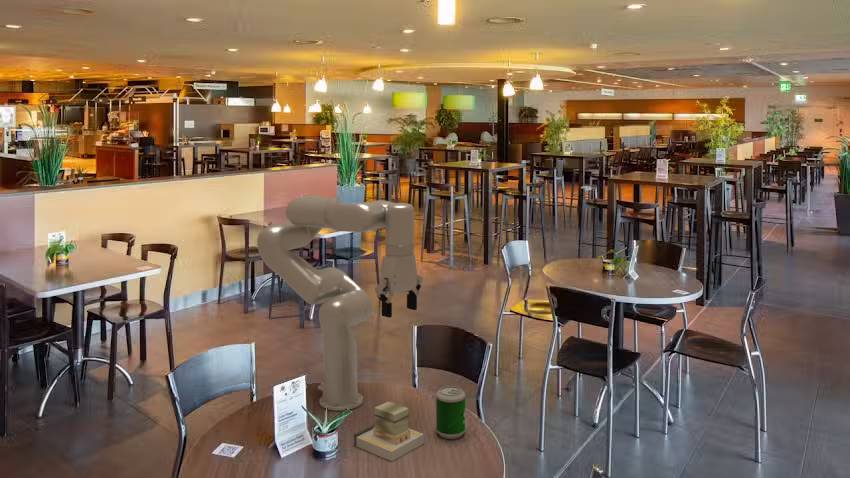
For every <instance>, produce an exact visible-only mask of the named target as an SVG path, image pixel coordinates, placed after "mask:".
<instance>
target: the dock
mask: <svg viewBox="0 0 850 478" xmlns="http://www.w3.org/2000/svg"><path fill="white" fill-rule="evenodd" d="M374 427H375V423H373V424H371V425H369V426H367V427H365V428H362V429H361V430H358V431H357V432H354V433H353V443H354V444H353V445H354V447H357V448H359V449H362V450H364V451H366V452H369V453H370V454H372V455H375V456H378V457H380V458H383V459H385V460H387V461H390V462H394V461H395V460H397V459H399V458H400V457H403V456H404V455H406V454H408V453H409V452H411V451H413V450H415V449H416V448H418V447H420V446H421V445H422V446H423V444H425V434H424V433H421V432H419V431H417V430H414V429H411V428H409V430H410V438H408V439H406V438H405V441H403V442H401V441H400V443H399V444H394V443H392V442H389V441H387V440H384V439H382V438H379V437H377V436H374V435H373V428H374Z"/></svg>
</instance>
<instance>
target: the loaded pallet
mask: <svg viewBox="0 0 850 478" xmlns="http://www.w3.org/2000/svg"><path fill="white" fill-rule="evenodd" d="M373 414H374V415H373V416H374V424H375V427H374V428H373V435H374V436H377V437H379V438H382V439H384V440H387V441H389V442H392V443H394V444H399V443H400V441H401V442H403V441H405V438H406V439H408V438H410V430H409V429H410V428H409V423H410V422H409V421H410V420H409V417H410V416H409V407H406V406H403V405H399V404H397V403H394V402H392V401H387V402H384V403H382V404H379V405H377V406H375V407H374V413H373Z"/></svg>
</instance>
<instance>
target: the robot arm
mask: <svg viewBox="0 0 850 478" xmlns="http://www.w3.org/2000/svg"><path fill="white" fill-rule="evenodd" d="M285 216H286V217H285V218H286V219H287V220H288V221H284V222H278V223H273V224H269V225H268V226H266V227H264V228H263V229H261V231H260V232H259V233H258V236H257V239H256V243H257V245H256V246H257V251H258V253H259V256H260V258H261V260H262V261H263V263H264V264H265V266H267V267H268V268H269V270H271V271H272V272H274V273H275V274H276V275H277V276H278V277H280V278H281V279H282V280H283V281H284V282H285V283H286V284H287V286H289V287H290V288H291V289H292V290H293V291H294V292H295V293H296V294H298V296H300V298H301V299H302V300H303V301H305V302H306V303H307V304H309V305H312V306H313V305H315V306H316V305H320V304H321V306H320V307H319V310H318V320H319V324H320V328H321V335H322V336H321V337H322V350H323V352H322V353H323V354H322V355H323V381H321V383H320V384H319V385H318V386H317V390H319V391H321V392H322V395H321V396H320V398H319V405H320V406H321V407H322V408H323V409H325V407H326V406H327V408H328V409H327V410H329V411H333V412H334V411H338V412H339V411H346V410H345V409H347V408H351V409H350V410H353V409H356V408H358V407H360V406H361V405H362V404H363V402H364V396H363V395H362V394H361V393H360V392H358V391H359V390H358V388H359V387H358V356H357V355H358V353H357V352H358V350H357V340H356V336H355V334H354V332H353V329H352V327H353V326H355V325H357V324H359V323H362V322H364V321H366V320H368V318H369V317H370V316H371V315H372V313H373V311H374V310H373V309H374V308H373V301H372V299H371V297H370V296H369V295H368V293H367V292H366V291H365V290H364V289H363V288H362V287H361V286H360V285H359V284H358V283H357V282H355V280H353V279H352V278H351V277H350V276H349V275H348V274H347V273H345V272H344V271H343V270H342V269H340V268H338V267H325V268H322V269H321V268H320V269H316V268H315V267H314V266H312V265H311V264H310V263H309V262H308V261H307V260H306V259H304V258H303V257H301V256H299V255H298V254H297V253H294V252H292V251H291V250H295V249H300V248H303V247H306V246H308V245H309V244H310V243H311V242H312V241H313V240H314V239H315V237H316V236H317V235H318V234H319V233H320V232H321V230H322V229H332V230H334V231H336V232H337V231H339V232H347V233H350V232H351V233H364V232H369V231H374V230H379V229H383V228H385V231H384V232H385V234H384V236H385V237H384V238H385V239H384V241H385V242H384V244H385V245H384V247H385V251H384V253H385V255H384V256H383V257H382V260H381V266H380V275H379V276H380V277H379V278H380V279H379V283H378V284H377V285H376V286H375V287H374V292H375V294H376V297H377V299H379V302H381V316H382V317H386V318H388V319H389V318H392V317H393V303H392V302H391V301H392V298H393V297H394V295H399V294H400V295H401V294H403V293H407V294H406V308H407V309H408V310H412V311H417V309H418V308H417V307H418V296H419V294H420V292H419V291H420V289H421V287H422V283H423V279H424V277H423V276H420V275H419V274H418V273H417V272H418V271H417V270H418V269H417V261H416V255H415V252H414V251H415V208H414V206H413V205H412V204H410V203H406V202H392V201H390V200H389V201H388V200H384V199H378V200H371V201H366V202H358V203H345V202H344V203H343V202H342V201H340V200H339V199H338V198H336V197H326V196H324V195H320V194H314V195H313V194H312V195H308V196H306V195H305V196H299V197H296V198H294V199H292V200H291V201H290V202H289V203H288V204H287V205H286V208H285Z"/></svg>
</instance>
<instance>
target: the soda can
mask: <svg viewBox="0 0 850 478" xmlns="http://www.w3.org/2000/svg"><path fill="white" fill-rule="evenodd" d="M435 398H436V399H435V403H436V407H435V408H436V410H435V412H436V413H435V416H436V418H435V419H436V424H435V425H436V429H435V430H436V433H437V434H438V435H439V436H440V437H441V438H442V439H446V440H456V439H459V438H461V437H462V436H463V435H464V434H465V432H466V393H465V391H463V389H462V388H461V387H459V386H455V385H446V386H443V387H441V388H440V389H439V390H438V391H437V392H436V396H435Z"/></svg>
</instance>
